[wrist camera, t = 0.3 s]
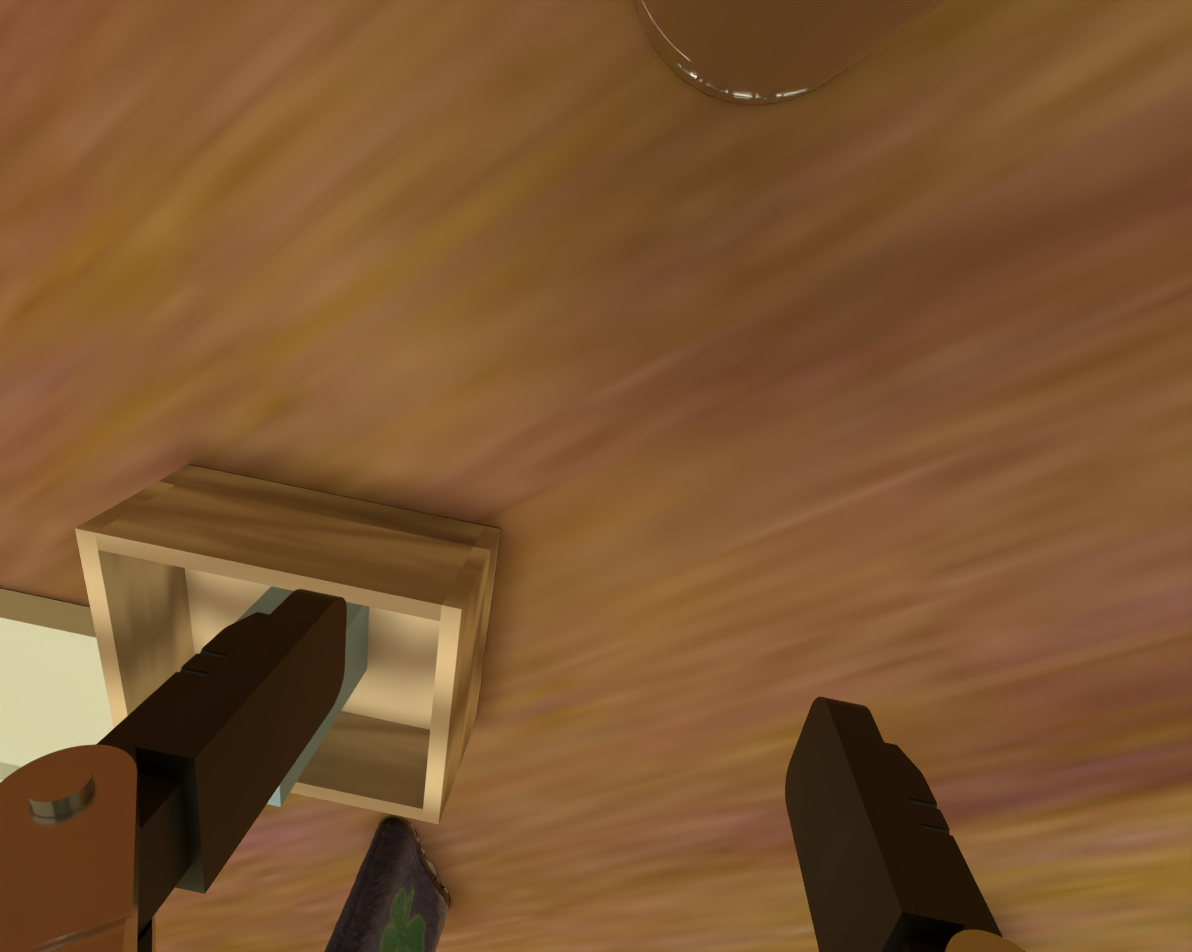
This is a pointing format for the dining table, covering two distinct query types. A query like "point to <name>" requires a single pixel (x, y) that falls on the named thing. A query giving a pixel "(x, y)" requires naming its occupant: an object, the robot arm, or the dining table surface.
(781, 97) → the robot arm
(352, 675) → the block
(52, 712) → the plate
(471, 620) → the crate
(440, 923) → the flask
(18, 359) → the dining table surface
